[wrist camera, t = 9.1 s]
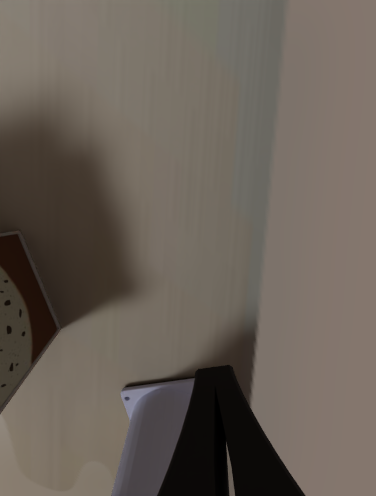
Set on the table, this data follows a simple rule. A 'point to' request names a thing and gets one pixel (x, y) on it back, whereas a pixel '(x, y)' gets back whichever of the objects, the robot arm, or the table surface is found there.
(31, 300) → the food container
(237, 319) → the table surface
